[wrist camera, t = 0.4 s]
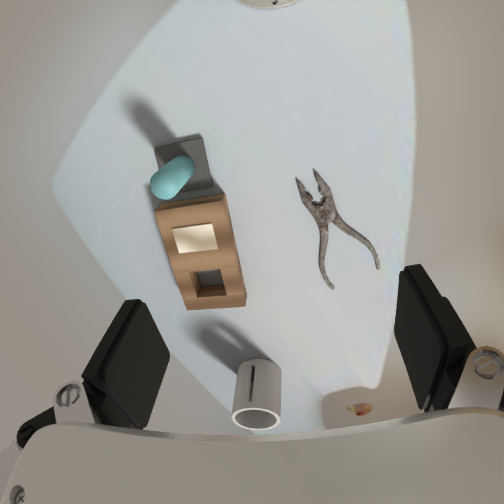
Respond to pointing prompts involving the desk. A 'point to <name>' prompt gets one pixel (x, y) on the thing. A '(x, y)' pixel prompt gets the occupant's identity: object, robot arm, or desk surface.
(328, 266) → the desk surface
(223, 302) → the wooden peg hole block
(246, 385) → the cup
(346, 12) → the desk surface
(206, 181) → the pad
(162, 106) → the desk surface
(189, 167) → the peg
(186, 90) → the desk surface
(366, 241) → the pliers
